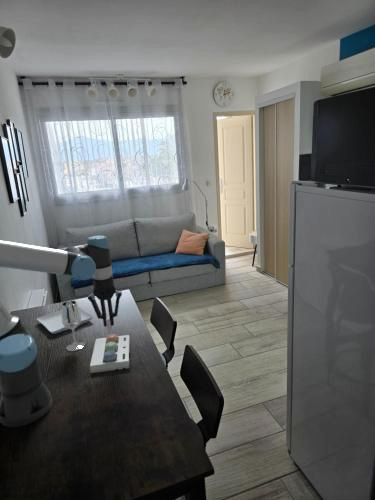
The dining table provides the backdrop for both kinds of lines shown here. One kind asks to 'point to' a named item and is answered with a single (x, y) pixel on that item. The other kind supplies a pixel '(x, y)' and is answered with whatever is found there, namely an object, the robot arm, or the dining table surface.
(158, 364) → the dining table surface
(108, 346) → the sage button
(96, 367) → the button panel
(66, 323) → the wineglass
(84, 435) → the dining table surface
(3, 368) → the robot arm
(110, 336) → the terracotta button
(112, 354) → the slate button
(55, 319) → the salad plate
